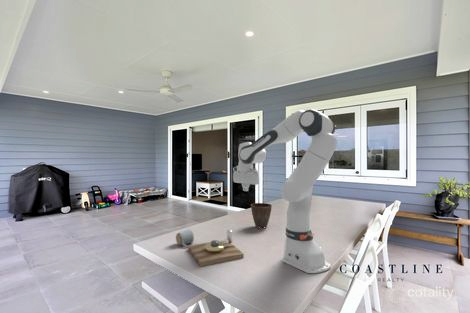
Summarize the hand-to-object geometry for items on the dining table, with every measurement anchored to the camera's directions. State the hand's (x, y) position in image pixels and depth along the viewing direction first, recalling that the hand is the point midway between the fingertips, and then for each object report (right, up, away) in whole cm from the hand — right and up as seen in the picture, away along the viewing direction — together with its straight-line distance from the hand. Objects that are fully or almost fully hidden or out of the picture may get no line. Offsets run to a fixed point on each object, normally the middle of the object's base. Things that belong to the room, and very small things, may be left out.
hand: (245, 190), depth 139 cm
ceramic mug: (-34, -29, -10) cm, 46 cm away
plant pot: (+12, -30, +23) cm, 39 cm away
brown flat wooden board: (-17, -29, -23) cm, 40 cm away
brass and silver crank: (-15, -26, -21) cm, 37 cm away
